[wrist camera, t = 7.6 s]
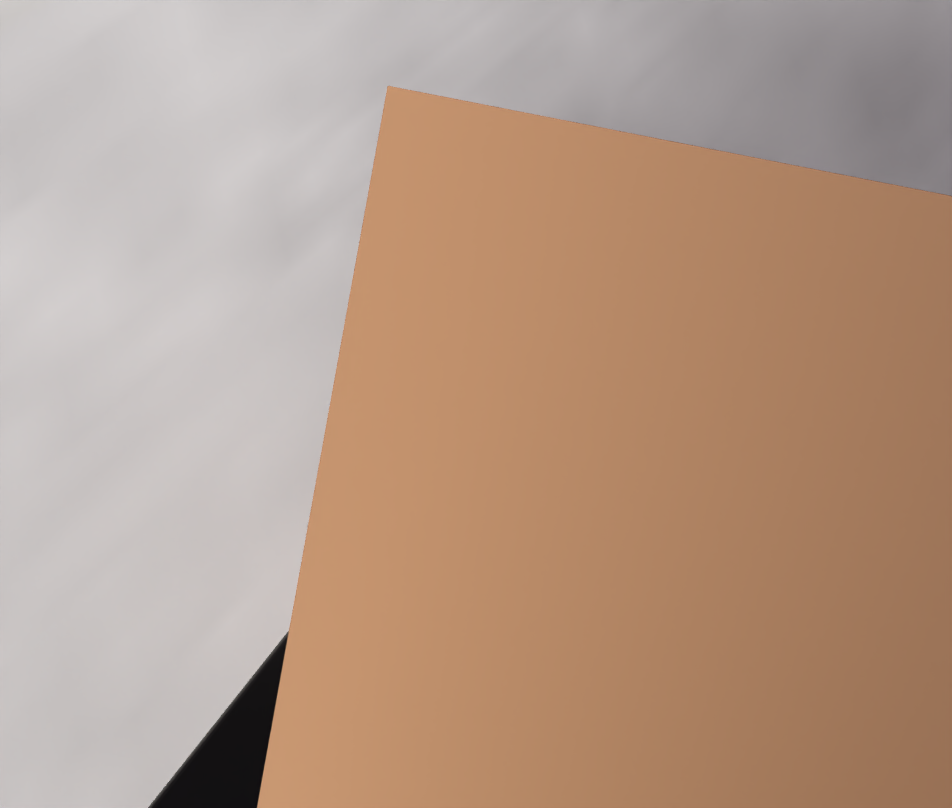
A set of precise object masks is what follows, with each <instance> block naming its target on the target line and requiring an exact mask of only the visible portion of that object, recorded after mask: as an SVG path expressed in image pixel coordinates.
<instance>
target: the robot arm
mask: <svg viewBox="0 0 952 808" xmlns="http://www.w3.org/2000/svg"><path fill="white" fill-rule="evenodd" d="M288 634H289V631H288V632H287V634H286V635H285V636H284V637H283V639H282V640H281V641H280V642H279V644H278V645H277V646H276V647H275V649H274V650H273V651H272V652H271V654H270V655H269V656H268V657H267V659H266V660H265V661H264V662H263V664H262V665H261V666H260V668H259V669H258V670H257V671H256V673H255V674H254V675H253V676H252V678H251V679H250V680H249V681H248V683H247V684H246V685H245V686H244V688H243V689H242V690H241V691H240V693H239V694H238V695H237V696H236V698H235V699H234V700H233V702H232V703H231V704H230V705H229V707H228V708H227V709H226V710H225V712H224V713H223V714H222V715H221V717H220V718H219V719H218V720H217V722H216V723H215V724H214V725H213V727H212V728H211V729H210V730H209V732H208V733H207V734H206V736H205V737H204V738H203V739H202V741H201V742H200V743H199V744H198V746H197V747H196V748H195V749H194V751H193V752H192V753H191V754H190V756H189V757H188V758H187V759H186V761H185V762H184V763H183V764H182V766H181V767H180V768H179V770H178V771H177V772H176V773H175V775H174V776H173V777H172V778H171V780H170V781H169V782H168V783H167V785H166V786H165V787H164V788H163V790H162V791H161V792H160V793H159V795H158V796H157V797H156V798H155V800H154V801H153V802H152V804H151V805H150V806H149V807H148V808H257V805H258V799H259V794H260V788H261V783H262V777H263V772H264V766H265V761H266V755H267V750H268V744H269V739H270V733H271V728H272V722H273V717H274V711H275V706H276V700H277V695H278V689H279V684H280V678H281V672H282V667H283V661H284V656H285V650H286V645H287V639H288Z"/></svg>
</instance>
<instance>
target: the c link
mask: <svg viewBox="0 0 952 808" xmlns="http://www.w3.org/2000/svg"><path fill="white" fill-rule="evenodd" d="M257 808H952V196H949V195H944V194H939V193H934V192H928V191H923V190H918V189H913V188H908V187H903V186H898V185H893V184H887V183H882V182H877V181H872V180H867V179H862V178H857V177H852V176H847V175H841V174H836V173H831V172H826V171H821V170H816V169H811V168H806V167H800V166H795V165H790V164H785V163H780V162H775V161H770V160H765V159H760V158H754V157H749V156H744V155H739V154H734V153H729V152H724V151H719V150H714V149H708V148H703V147H698V146H693V145H688V144H683V143H678V142H673V141H667V140H662V139H657V138H652V137H647V136H642V135H637V134H632V133H627V132H621V131H616V130H611V129H606V128H601V127H596V126H591V125H586V124H580V123H575V122H570V121H565V120H560V119H555V118H550V117H545V116H540V115H534V114H529V113H524V112H519V111H514V110H509V109H504V108H499V107H493V106H488V105H483V104H478V103H473V102H468V101H463V100H458V99H453V98H447V97H442V96H437V95H432V94H427V93H422V92H417V91H412V90H407V89H401V88H396V87H391V86H388V87H387V93H386V98H385V104H384V109H383V115H382V120H381V126H380V131H379V137H378V142H377V148H376V153H375V159H374V164H373V170H372V175H371V181H370V187H369V192H368V198H367V203H366V209H365V214H364V220H363V225H362V231H361V236H360V242H359V247H358V253H357V258H356V264H355V269H354V275H353V280H352V286H351V291H350V297H349V302H348V308H347V314H346V319H345V325H344V330H343V336H342V341H341V347H340V352H339V358H338V363H337V369H336V374H335V380H334V385H333V391H332V396H331V402H330V407H329V413H328V418H327V424H326V429H325V435H324V441H323V446H322V452H321V457H320V463H319V468H318V474H317V479H316V485H315V490H314V496H313V501H312V507H311V512H310V518H309V523H308V529H307V534H306V540H305V545H304V551H303V557H302V562H301V568H300V573H299V579H298V584H297V590H296V595H295V601H294V606H293V612H292V617H291V623H290V628H289V634H288V639H287V645H286V650H285V656H284V661H283V667H282V672H281V678H280V684H279V689H278V695H277V700H276V706H275V711H274V717H273V722H272V728H271V733H270V739H269V744H268V750H267V755H266V761H265V766H264V772H263V777H262V783H261V788H260V794H259V799H258V805H257Z"/></svg>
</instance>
